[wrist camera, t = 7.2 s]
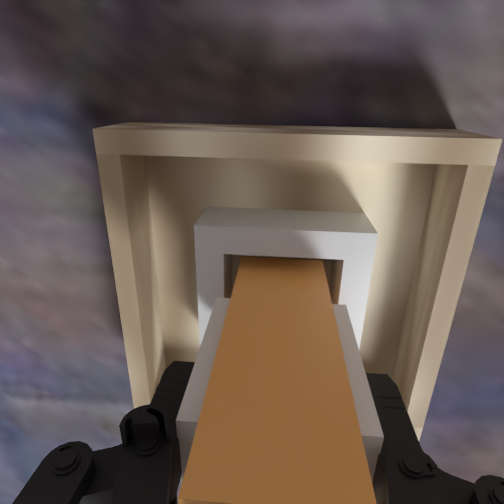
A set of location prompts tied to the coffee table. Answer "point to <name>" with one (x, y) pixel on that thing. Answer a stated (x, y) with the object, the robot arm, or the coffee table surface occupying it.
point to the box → (295, 198)
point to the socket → (285, 251)
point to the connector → (278, 398)
